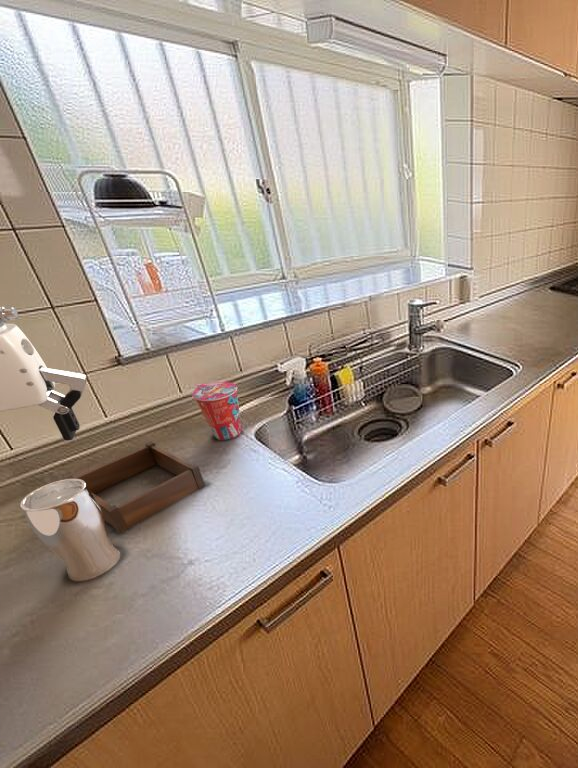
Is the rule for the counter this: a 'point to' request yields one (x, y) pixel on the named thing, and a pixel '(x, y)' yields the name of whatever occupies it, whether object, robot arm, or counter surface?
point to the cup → (220, 408)
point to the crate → (151, 499)
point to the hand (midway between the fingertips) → (21, 444)
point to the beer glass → (71, 527)
